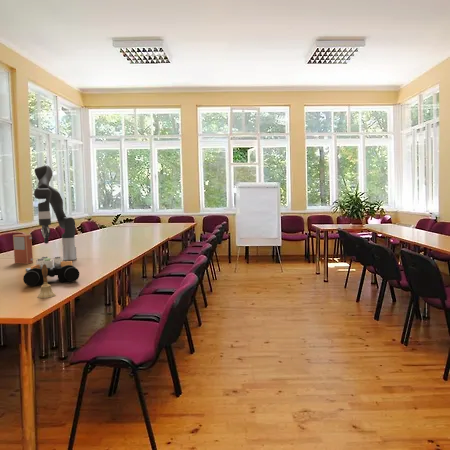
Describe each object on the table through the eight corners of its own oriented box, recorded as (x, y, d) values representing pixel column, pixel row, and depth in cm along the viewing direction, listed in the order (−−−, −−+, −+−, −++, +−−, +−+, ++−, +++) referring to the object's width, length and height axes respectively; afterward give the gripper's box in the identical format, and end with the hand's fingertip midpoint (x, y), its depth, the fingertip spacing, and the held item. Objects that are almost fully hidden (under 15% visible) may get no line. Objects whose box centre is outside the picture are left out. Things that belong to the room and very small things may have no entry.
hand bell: (33, 297, 198) (31, 265, 197) (46, 293, 206) (44, 262, 204) (46, 298, 195) (44, 266, 194) (59, 294, 203) (57, 263, 202)
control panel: (19, 261, 311) (35, 262, 306) (12, 263, 304) (27, 264, 299) (17, 234, 309) (33, 234, 304) (10, 235, 303) (26, 235, 298)
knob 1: (40, 268, 270) (39, 258, 270) (46, 268, 269) (46, 258, 269) (28, 271, 258) (27, 261, 258) (35, 271, 257) (34, 261, 257)
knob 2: (52, 267, 272) (52, 257, 271) (56, 266, 277) (55, 256, 276) (70, 267, 272) (70, 257, 271) (73, 265, 277) (72, 256, 276)
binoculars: (23, 288, 217) (22, 270, 217) (25, 284, 236) (24, 267, 236) (80, 282, 228) (79, 265, 228) (77, 278, 247) (76, 262, 247)
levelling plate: (62, 265, 288) (61, 254, 287) (70, 268, 275) (69, 257, 274) (25, 270, 272) (24, 258, 272) (33, 274, 259) (32, 261, 259)
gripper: (53, 217, 271) (55, 243, 272) (47, 217, 281) (48, 242, 282) (42, 218, 266) (44, 244, 268) (35, 218, 276) (37, 243, 277)
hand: (46, 243), depth 275 cm, fingers closed
